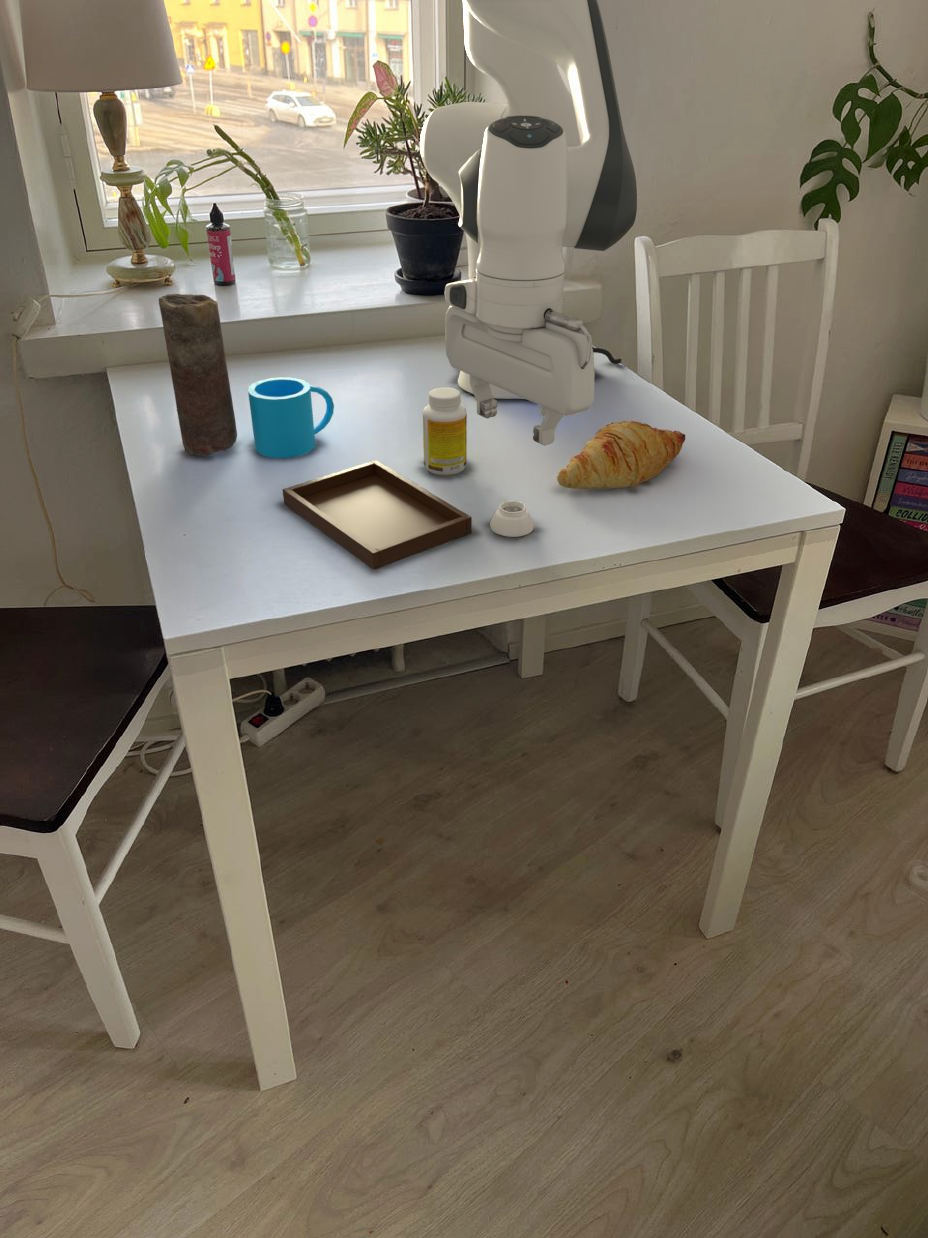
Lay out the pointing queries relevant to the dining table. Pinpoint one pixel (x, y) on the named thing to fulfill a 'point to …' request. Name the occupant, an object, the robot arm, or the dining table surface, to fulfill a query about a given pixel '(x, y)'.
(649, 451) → the croissant
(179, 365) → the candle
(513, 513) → the lidless jar
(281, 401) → the mug
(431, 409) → the supplement bottle
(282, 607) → the dining table surface
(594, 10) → the robot arm
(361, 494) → the serving tray
